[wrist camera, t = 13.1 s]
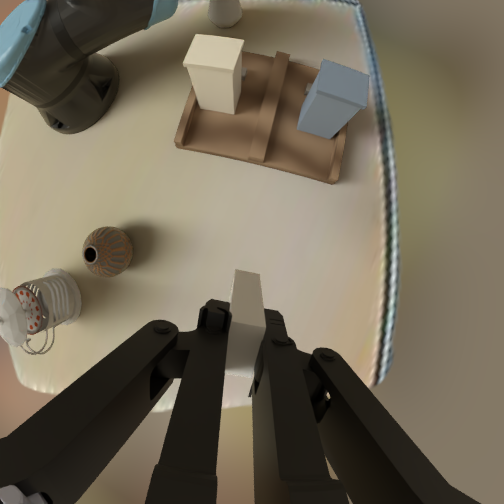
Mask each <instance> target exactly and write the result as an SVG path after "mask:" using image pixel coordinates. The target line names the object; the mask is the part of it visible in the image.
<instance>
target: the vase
mask: <svg viewBox="0 0 504 504" xmlns="http://www.w3.org/2000/svg"><path fill="white" fill-rule="evenodd" d="M132 255H133V247H132V243H131V241H130V239H129V237H128V236H127V235H126V234H125V233H124V232H123V231H122V230H120V229H118V228H115V227H101V228H98V229H96V230H95V231H93V232H92V233H91V234H90V235H89V236H88V237H87V239H86V240H85V242H84V245H83V259H84V262H85V264H86V266H87V267H88V269H89V270H90V271H91V272H93V273H94V274H96V275H98V276H102V277H113V276H116V275H118V274H120V273H122V272H123V271H124V270H125V269H126V268H127V267H128V266H129V264H130V262H131V259H132Z"/></svg>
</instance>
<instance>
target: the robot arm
mask: <svg viewBox="0 0 504 504" xmlns="http://www.w3.org/2000/svg"><path fill="white" fill-rule="evenodd" d="M177 6H178V0H47V1H46V0H26V1H24V2H23V3H21V4H20V5H19V6H18V7H16V8H15V9H14V10H13V11H12V12H11V13H10V14H9V15H8V17H7V18H6V19H5V20H4V21H3V23H2V24H1V25H0V87H1V88H3V89H5V90H7V91H9V92H10V93H12V94H14V95H16V96H18V97H20V98H21V99H23V100H25V101H27V102H28V103H30V104H32V105H34V106H35V107H37V109H38V110H39V112H40V114H41V115H42V117H43V118H44V120H45V122H46V123H47V124H48V125H49V126H50V127H51V128H52V129H54V130H56V131H58V132H60V133H63V134H74V133H78V132H80V131H83V130H85V129H86V128H88V127H90V126H91V125H93V124H94V123H95V122H96V121H97V120H99V119H100V118H101V117H102V116H103V114H104V113H105V112H106V111H107V109H108V108H109V107H110V105H111V103H112V102H113V100H114V98H115V96H116V93H117V90H118V85H119V75H118V71H117V69H116V67H115V66H114V65H113V64H112V62H111V61H110V60H109V59H108V58H106V57H105V56H102V55H100V54H97V53H96V52H98V51H99V50H101V49H103V48H105V47H107V46H109V45H111V44H113V43H115V42H117V41H119V40H121V39H123V38H125V37H127V36H129V35H131V34H134V33H136V32H138V31H140V30H143V29H144V30H146V29H148V28H150V27H151V26H152V25H154V24H157V23H159V22H161V21H164V20H166V19H168V18H170V17H171V16H172V15H173V14H174V13H175V11H176V9H177ZM253 372H254V379H253V383H252V386H251V389H250V393H249V396H248V397H251V395H252V413H253V454H254V455H253V458H254V498H255V504H349V501H348V497H347V494H348V496H349V498H350V499H351V501H352V503H353V504H481V503H479V502H477V501H475V500H474V499H472V498H470V497H469V496H467V495H465V494H464V493H462V492H461V491H459V490H457V489H455V488H454V487H452V486H451V485H449V484H448V482H447V481H446V480H445V479H444V478H443V477H442V475H441V474H440V473H439V472H438V470H437V469H436V468H435V467H434V466H433V465H432V463H431V462H430V461H429V460H428V459H427V457H426V456H425V455H424V454H423V453H422V452H421V450H420V449H419V448H418V447H417V446H416V445H415V443H414V442H413V441H412V440H411V439H410V437H409V436H408V435H407V434H406V433H405V431H404V430H403V429H402V428H401V427H400V425H399V424H398V423H397V422H396V421H395V420H394V418H393V417H392V416H391V415H390V414H389V412H388V411H387V410H386V409H385V408H384V407H383V405H382V404H381V403H380V402H379V401H378V399H377V398H376V397H375V396H374V395H373V393H372V392H371V391H370V390H369V389H368V388H367V386H366V385H365V384H364V383H363V382H362V380H361V379H360V378H359V377H358V376H357V375H356V373H355V372H354V371H353V370H352V369H351V367H350V366H349V365H348V364H347V363H346V362H345V360H344V359H343V358H342V357H341V356H340V355H339V354H338V353H337V352H335V351H333V350H332V349H329V348H316V349H315V350H314V351H313V353H312V355H311V354H308V353H305V352H302V351H299V350H298V349H297V348H296V344H295V342H294V340H292V339H291V338H290V337H288V335H287V331H286V327H285V323H284V319H283V316H282V315H281V314H280V313H279V312H278V311H276V310H270V309H265V308H264V306H263V298H262V290H261V282H260V274H256V273H251V272H246V271H241V270H236V269H235V274H234V279H233V283H232V288H231V293H230V298H229V302H224V301H219V300H214V299H211V300H209V301H208V302H206V305H205V306H203V307H201V309H200V312H199V318H198V325H197V329H196V330H193V331H189V332H179V330H178V327H177V326H176V325H175V324H173V323H171V322H169V321H166V320H154V321H151V322H149V323H147V324H146V325H145V326H143V327H142V328H141V329H140V330H138V331H137V332H136V333H135V334H133V335H132V336H131V337H130V338H128V339H127V340H126V341H125V342H123V343H122V344H121V345H120V346H118V347H117V348H116V349H114V350H113V351H112V352H111V353H109V354H108V355H107V356H106V357H104V358H103V359H102V360H101V361H99V362H98V363H97V364H96V365H94V366H93V367H92V368H91V369H89V370H88V371H87V372H86V373H84V374H83V375H82V376H81V377H79V378H78V379H77V380H76V381H74V382H73V383H72V384H71V385H70V386H68V387H67V388H66V389H65V390H63V391H62V392H61V393H60V394H58V395H57V396H56V397H55V398H54V399H52V400H51V401H50V402H48V403H47V404H46V405H45V406H44V407H42V408H41V409H40V410H39V411H37V412H36V413H35V414H34V415H33V416H31V417H30V418H29V419H28V420H26V421H25V422H24V423H23V424H22V425H20V426H19V427H18V428H17V429H15V430H14V431H13V432H12V433H11V434H10V435H8V436H7V437H4V438H1V439H0V504H74V503H76V502H77V501H78V500H79V499H80V497H81V496H82V495H83V494H84V492H85V491H86V490H87V489H88V487H90V485H91V484H92V483H93V482H94V480H95V479H96V478H97V477H98V476H99V474H100V473H101V472H102V471H103V469H104V468H105V467H106V466H107V464H108V463H109V462H110V461H111V459H112V458H113V457H114V456H115V455H116V453H117V452H118V451H119V449H120V448H121V447H122V446H123V445H124V443H125V442H126V441H127V440H128V438H129V437H130V436H131V435H132V433H133V432H134V431H135V430H136V428H137V427H138V426H139V425H140V423H141V422H142V421H143V420H144V418H145V417H146V416H147V415H148V413H149V412H150V411H151V410H152V408H153V407H154V406H155V404H156V403H157V402H158V401H159V399H160V398H161V397H162V396H163V394H164V393H165V392H166V390H167V389H168V388H169V387H170V385H171V384H172V383H173V380H174V378H182V379H181V383H180V386H179V390H178V393H177V397H176V400H175V404H174V408H173V411H172V415H171V418H170V422H169V426H168V429H167V433H166V437H165V440H164V444H163V448H162V452H161V456H160V459H159V462H158V464H156V465H155V468H154V471H153V474H152V477H151V482H150V485H149V489H148V493H147V497H146V501H145V504H216V498H217V476H216V465H217V452H218V440H219V430H220V418H221V407H222V397H223V386H224V376H225V374H230V375H236V376H243V377H249V378H252V375H253ZM327 393H329V394H330V399H328V397H327V396H326V395H327ZM324 454H325V455H324ZM325 456H326V458H327V460H328V461H329V463H330V465H331V467H332V468H333V470H334V472H335V474H336V475H337V477H338V479H339V480H335V479H332V478H331V477H330V475H329V471H328V467H327V463H326V459H325ZM346 493H347V494H346Z"/></svg>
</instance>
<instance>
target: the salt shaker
mask: <svg viewBox="0 0 504 504" xmlns="http://www.w3.org/2000/svg"><path fill="white" fill-rule="evenodd" d="M208 17H209V19H210V20H211V22H213V23H214V24H215V25H217V26H218V27H219V28H230V27H232V26H233V25H234V24H236V23H237V22H238V20H239V19H240V18H241V17H242V8H241V5H240V2H239V0H210V3H209V10H208Z"/></svg>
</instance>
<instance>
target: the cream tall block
mask: <svg viewBox="0 0 504 504" xmlns="http://www.w3.org/2000/svg"><path fill="white" fill-rule="evenodd" d="M243 46H244V40H242V39H235V38H228V37H221V36H212V35H203V34H196V35H195V37H194V39H193V41H192V43H191V46H190V48H189V50H188V52H187V55H186V57H185V59H184V61H183V65H184V67H187V69H188V72H189V75H190V78H191V81H192V84H193V88H194V91H195V94H196V97H197V100H198V103H199V106H200V109H206V110H212V111H218V112H223V113H228V114H233V115H234V114H235V110H236V107H237V104H238V100H239V97H240V94H241V66H242V48H243Z"/></svg>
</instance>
